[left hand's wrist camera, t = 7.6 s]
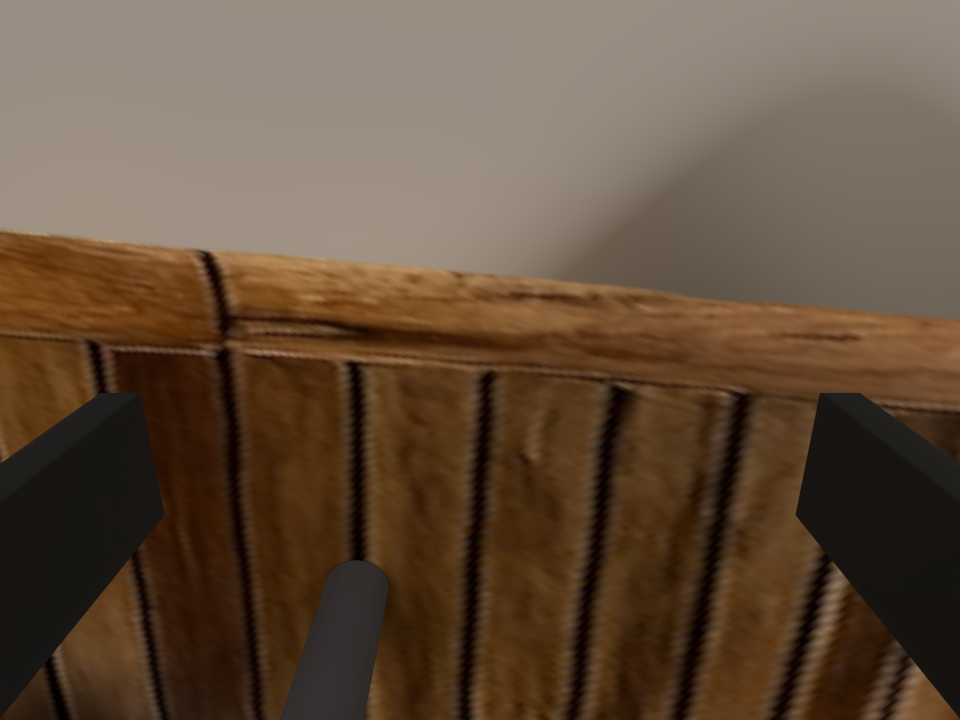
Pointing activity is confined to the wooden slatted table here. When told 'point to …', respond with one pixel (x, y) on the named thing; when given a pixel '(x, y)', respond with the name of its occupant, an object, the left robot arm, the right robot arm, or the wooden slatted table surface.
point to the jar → (340, 646)
